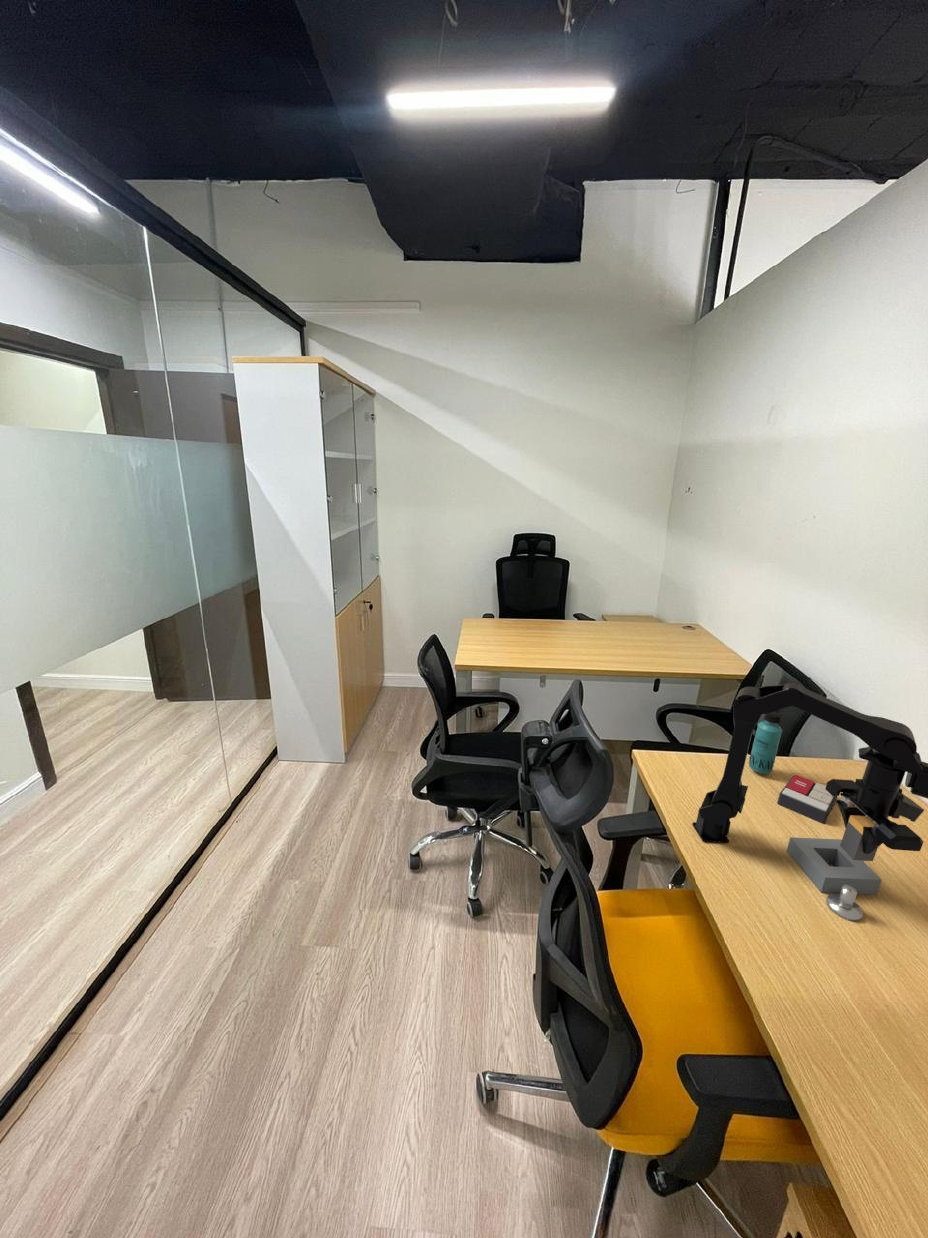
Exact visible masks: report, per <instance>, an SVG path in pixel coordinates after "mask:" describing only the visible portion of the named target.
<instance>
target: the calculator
mask: <svg viewBox="0 0 928 1238" xmlns="http://www.w3.org/2000/svg"><path fill="white" fill-rule="evenodd" d="M825 788H826V785H824V784H821V783H819V782H816V783H815V781H813V780H812V779H811V780H810V779H809V778H806V777H803V776H801V775H799V774H793V775H792V776H791V777H790V779H789V780H788V782H786V784H785V786H784V787H783V788H782V789H781V790H780V792H779V794H778V798H777V799H778V800H777V802H776V804H777V805H778V806H781V807H784V808H785V809H787V810H790V811H792V812H795V813H797V814H799V815H802V816H804V817H806V818H809V819H811V820H813V821H815V822H818V823H820V824H821V825H825V824H826V823H827V820H828V818H829V816H830V814H831V812H832V810H833V808H834V806H835V805H836V800H838V796H836V797H835V796H832V795H831V794H830V793H829V792H828V791H827V790H826V789H825Z"/></svg>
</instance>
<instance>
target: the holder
mask: <svg viewBox="0 0 928 1238" xmlns="http://www.w3.org/2000/svg"><path fill="white" fill-rule="evenodd" d="M841 841H842V838H840V839H839V838H838V839H837V838H820V837H819V838H818V837H817V838H814V837H793V836H792V837H791V836H790V837H789V841H788V845H787V849H786V853H788V855H789V856H790V857H791V859H793V861H794V862H795V863H796V864H797V866H798V867H799V868H800V869H801V870H802V871H803V873H804V874H805V875H806V876H807V877H808V879H809V880H810V881H811V883H812V884H813V885H814V886H815V887H816V888H817V890H818V891H819V892H820V893H826V894H827V893H828V894H840V893H841V890H842V887H843V885H849V886H851V887H853V888H855V889H856V891H857V895H878V893H879V890H880V887H881V884H882V881H883V879H882V878H881V877H880V876H879V875H877V873H876V872H875V871H874V870H873V869H872V868H871V867H870V866H869V865H868V864H867V863H865V862H864V861H861V860H853V859H852V858H851V857H850V856H849V855H848V854H847V853H846V852H845V851H844V850H843V848H842V847H841V846H840V844H841ZM828 863H829V864H833V865H834V866H830V865H829V864H828Z"/></svg>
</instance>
